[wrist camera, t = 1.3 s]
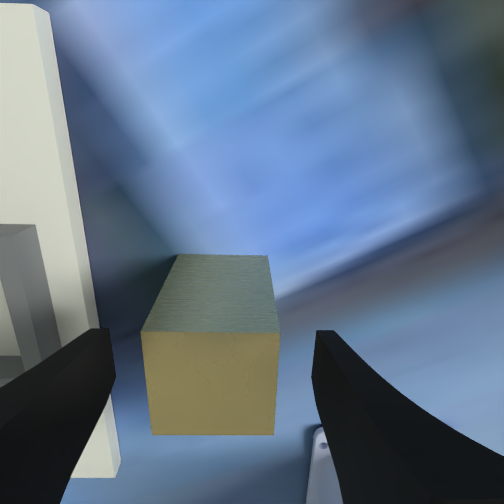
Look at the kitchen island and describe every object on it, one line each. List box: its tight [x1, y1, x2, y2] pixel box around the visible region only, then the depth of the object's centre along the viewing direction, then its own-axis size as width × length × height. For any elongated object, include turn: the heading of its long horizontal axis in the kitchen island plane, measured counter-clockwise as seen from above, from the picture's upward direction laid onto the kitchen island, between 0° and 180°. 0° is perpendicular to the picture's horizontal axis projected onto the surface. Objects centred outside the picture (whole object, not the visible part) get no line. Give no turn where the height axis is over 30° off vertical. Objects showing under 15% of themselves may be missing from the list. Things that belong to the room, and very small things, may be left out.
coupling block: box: [141, 254, 280, 435], centre depth 13 cm, size 4×4×6 cm
